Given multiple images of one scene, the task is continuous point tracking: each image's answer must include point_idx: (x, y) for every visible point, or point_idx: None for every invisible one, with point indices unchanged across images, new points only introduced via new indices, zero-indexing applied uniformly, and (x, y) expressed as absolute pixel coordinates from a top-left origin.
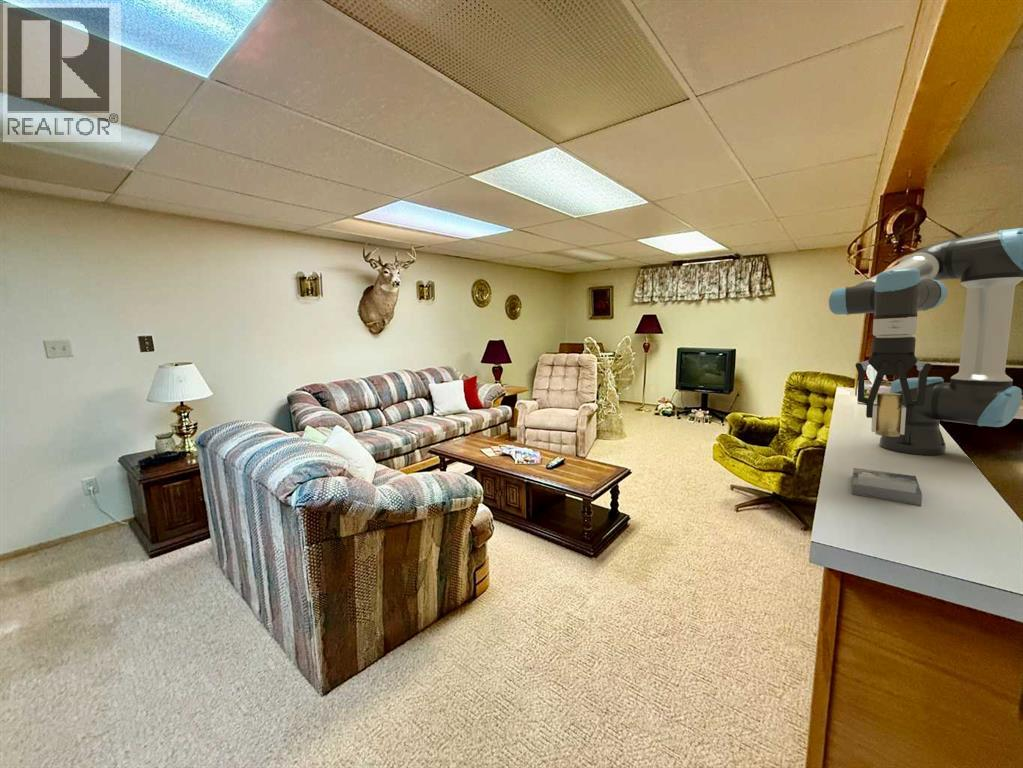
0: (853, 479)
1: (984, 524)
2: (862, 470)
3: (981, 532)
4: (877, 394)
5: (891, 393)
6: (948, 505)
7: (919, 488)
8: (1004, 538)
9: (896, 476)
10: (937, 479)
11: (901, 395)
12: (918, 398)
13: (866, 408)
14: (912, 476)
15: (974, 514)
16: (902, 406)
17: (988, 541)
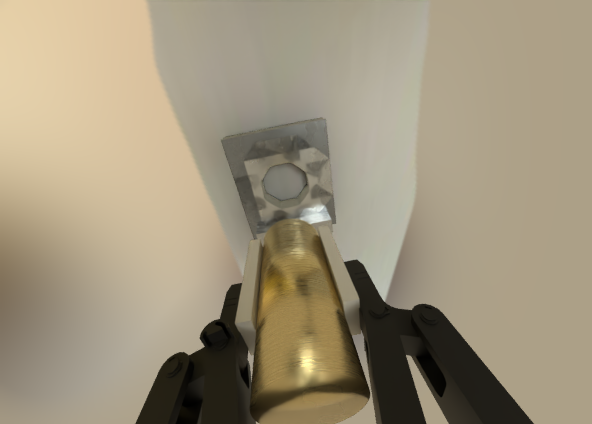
0: (248, 218)
1: (385, 226)
2: (240, 149)
3: (378, 249)
4: (252, 411)
5: (315, 385)
6: (359, 185)
7: (332, 196)
8: (393, 250)
9: (297, 148)
10: (356, 11)
11: (364, 404)
12: (427, 378)
13: (220, 317)
14: (320, 127)
15: (382, 199)
16: (349, 314)
17: (379, 266)
